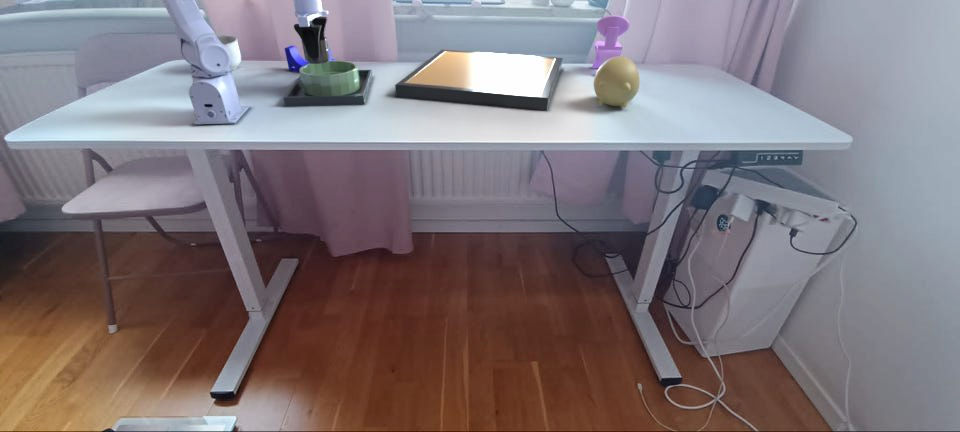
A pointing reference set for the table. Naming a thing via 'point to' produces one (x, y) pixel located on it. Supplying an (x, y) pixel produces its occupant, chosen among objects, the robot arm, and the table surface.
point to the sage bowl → (330, 78)
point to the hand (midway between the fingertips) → (316, 54)
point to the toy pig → (616, 82)
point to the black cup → (324, 52)
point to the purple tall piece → (609, 38)
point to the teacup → (231, 49)
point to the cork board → (484, 79)
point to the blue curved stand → (297, 58)
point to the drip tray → (302, 99)
